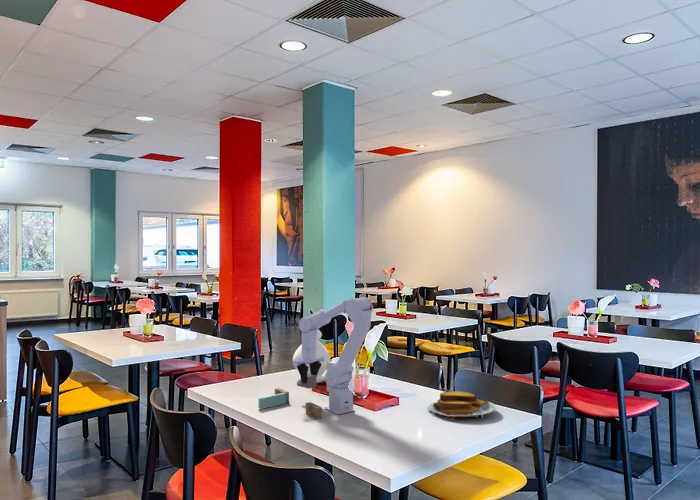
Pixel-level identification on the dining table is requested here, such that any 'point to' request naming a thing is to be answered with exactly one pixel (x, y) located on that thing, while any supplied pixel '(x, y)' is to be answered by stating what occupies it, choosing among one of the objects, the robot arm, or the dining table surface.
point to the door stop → (309, 382)
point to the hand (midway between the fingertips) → (308, 382)
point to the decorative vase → (319, 352)
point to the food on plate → (461, 405)
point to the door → (273, 400)
